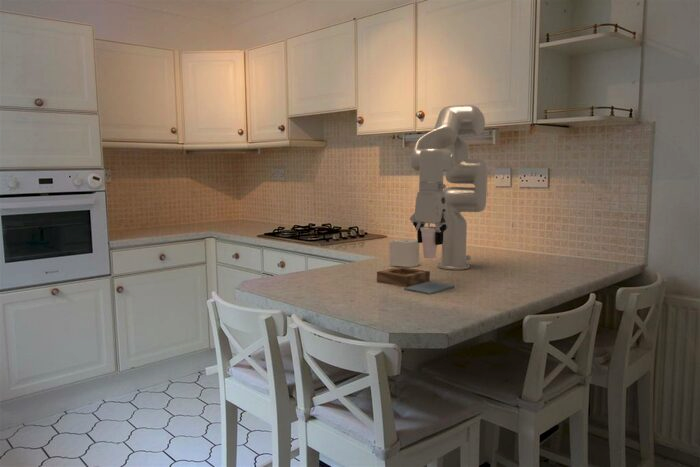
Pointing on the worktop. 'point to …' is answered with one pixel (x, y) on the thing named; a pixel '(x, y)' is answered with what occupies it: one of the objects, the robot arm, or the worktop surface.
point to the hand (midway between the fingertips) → (430, 243)
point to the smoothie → (429, 241)
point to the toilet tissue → (404, 253)
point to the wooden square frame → (403, 276)
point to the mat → (429, 287)
